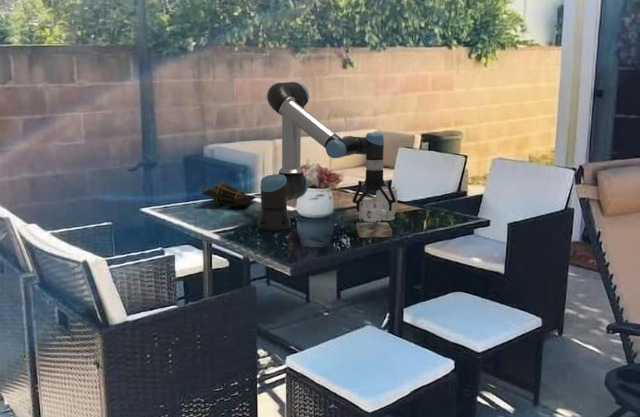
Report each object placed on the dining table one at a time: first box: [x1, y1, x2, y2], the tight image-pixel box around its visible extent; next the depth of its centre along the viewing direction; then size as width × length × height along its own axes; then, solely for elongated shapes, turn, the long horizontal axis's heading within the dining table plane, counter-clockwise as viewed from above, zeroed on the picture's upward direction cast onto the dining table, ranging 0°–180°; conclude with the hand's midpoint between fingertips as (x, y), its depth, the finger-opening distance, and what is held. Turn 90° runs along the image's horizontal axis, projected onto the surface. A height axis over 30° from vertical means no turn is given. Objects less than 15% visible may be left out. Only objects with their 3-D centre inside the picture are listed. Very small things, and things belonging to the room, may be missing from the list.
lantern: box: [199, 179, 258, 208], centre depth 354 cm, size 14×23×30 cm
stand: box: [356, 221, 393, 238], centre depth 295 cm, size 14×14×3 cm
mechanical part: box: [360, 196, 387, 225], centre depth 293 cm, size 11×12×12 cm
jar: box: [375, 186, 398, 222], centre depth 320 cm, size 11×10×15 cm
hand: (373, 218), depth 294 cm, fingers closed on mechanical part, 11 cm apart
